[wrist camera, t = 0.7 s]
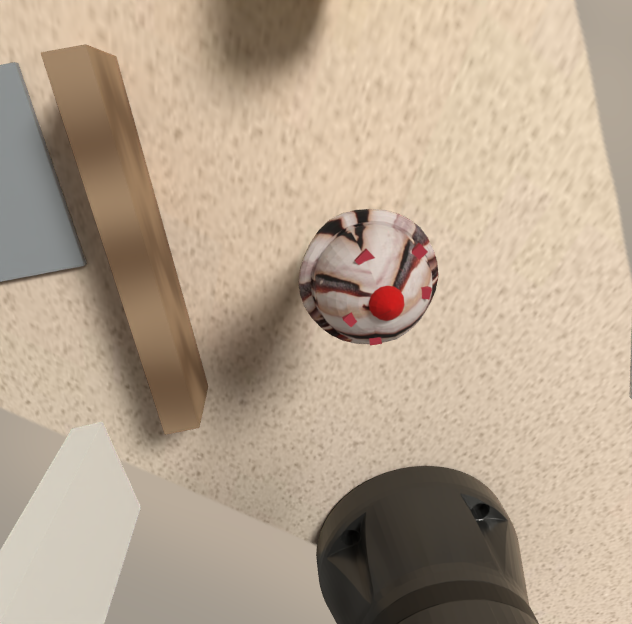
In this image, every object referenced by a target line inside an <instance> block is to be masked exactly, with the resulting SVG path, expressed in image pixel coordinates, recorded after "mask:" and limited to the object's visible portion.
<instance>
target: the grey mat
mask: <svg viewBox="0 0 632 624" xmlns="http://www.w3.org/2000/svg"><path fill="white" fill-rule="evenodd" d="M86 264H87V263H86V260H85V258H84V255H83V252H82V249H81V246H80V243H79V240H78V237H77V234H76V231H75V228H74V225H73V222H72V219H71V217H70V214H69V211H68V208H67V205H66V202H65V199H64V196H63V193H62V190H61V187H60V184H59V181H58V178H57V176H56V173H55V170H54V167H53V164H52V161H51V158H50V155H49V152H48V149H47V146H46V143H45V140H44V137H43V135H42V132H41V129H40V126H39V123H38V120H37V117H36V114H35V111H34V108H33V105H32V102H31V99H30V96H29V94H28V91H27V88H26V85H25V82H24V79H23V76H22V73H21V70H20V67H19V64H18V63H15V62H14V63H9V64H3V65H0V282H1V281H6V280H12V279H17V278H22V277H27V276H33V275H38V274H43V273H48V272H54V271H59V270H64V269H70V268H75V267H80V266H85V265H86Z"/></svg>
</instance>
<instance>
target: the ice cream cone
mask: <svg viewBox="0 0 632 624" xmlns="http://www.w3.org/2000/svg"><path fill="white" fill-rule="evenodd" d="M437 281H438V266H437V260H436V256H435V253H434V250H433V248H432V246H431V244H430V242H429V239H428V237H427V236H426V235H425V233H424V232H423V231H422V229H421V228H420V227H419V226H418V225H416V224H415V223H414V222H413V221H411V220H410V219H408V218H406V217H404V216H402V215H400V214H398V213H394V212H390V211H386V210H376V209H365V210H354V211H350V212H346V213H341V214H340V215H338V216H336V217H334V218H332V219H330V220H329V221H328V222H327V223H326V224H325V225H324V226H323V227H322V228H321V229H320V230H319V231H318V232H317V234H316V235H315V237H314V238H313V240H312V241H311V243H310V245H309V247H308V249H307V251H306V253H305V256H304V259H303V262H302V265H301V268H300V274H299V289H300V295H301V298H302V301H303V304H304V307H305V308H306V310H307V311H308V313H309V315H310V316H311V317H312V318H313V320H314V321H315V322H316V323H317V324H318V325H319V326H320V327H321V328H322V329H324V330H325V331H326V332H328V333H329V334H331V335H332V336H334V337H337V338H339V339H341V340H343V341H347V342H351V343H357V344H370V345H377V344H382V343H383V342H387V341H391V340H395V339H397V338H399V337H401V336H402V335H404V334H405V333H406V332H408V331H409V330H410V329H412V328H413V327H414V326H415V325H416V324H417V323H418V322H419V320H420V319H421V318H422V316H423V315H424V313H425V311H426V310H427V308H428V306H429V304H430V303H431V300H432V298H433V295H434V293H435V291H436V286H437Z"/></svg>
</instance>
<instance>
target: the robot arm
mask: <svg viewBox="0 0 632 624" xmlns="http://www.w3.org/2000/svg"><path fill="white" fill-rule="evenodd" d="M630 398H631V399H632V331H631V365H630ZM140 508H141V506H140V504H139V502H138V500H137V498H136V495H135V493H134V490H133V488H132V486H131V484H130V482H129V480H128V477H127V475H126V473H125V470H124V469H123V466H122V464H121V462H120V459H119V457H118V455H117V453H116V450H115V448H114V446H113V444H112V442H111V439H110V437H109V435H108V433H107V430H106V428H105V426H104V424H103V422H99V423H94V424H90V425H85V426H81V427H77V428H72V429H71V431H70V433H69V434H68V436H67V438H66V440H65V441H64V443H63V445H62V447H61V448H60V450H59V452H58V453H57V455H56V457H55V458H54V460H53V462H52V463H51V465H50V467H49V468H48V470H47V472H46V474H45V475H44V477H43V479H42V480H41V482H40V484H39V485H38V487H37V489H36V490H35V492H34V494H33V496H32V497H31V499H30V501H29V502H28V504H27V506H26V507H25V509H24V511H23V513H22V514H21V516H20V518H19V519H18V521H17V523H16V524H15V526H14V528H13V530H12V531H11V533H10V535H9V536H8V538H7V540H6V541H5V543H4V545H3V547H2V548H1V550H0V624H104V623H105V620H106V617H107V614H108V610H109V607H110V604H111V601H112V598H113V594H114V591H115V588H116V585H117V581H118V579H119V575H120V572H121V569H122V566H123V563H124V559H125V556H126V553H127V550H128V547H129V543H130V540H131V537H132V534H133V531H134V527H135V524H136V521H137V518H138V514H139V511H140ZM316 556H317V567H318V575H319V582H320V587H321V591H322V594H323V597H324V599H325V602H326V604H327V606H328V608H329V610H330V612H331V613H332V615H333V617H334V619H335V621H336V623H337V624H539V623H538V621H537V619H536V617H535V616H534V614H533V612H532V610H531V608H530V606H529V602H528V596H527V590H526V584H525V578H524V572H523V566H522V560H521V554H520V548H519V543H518V538H517V534H516V531H515V529H514V526H513V524H512V522H511V520H510V518H509V517H508V515H507V513H506V512H505V510H504V508H503V507H502V505H501V503H500V502H499V500H498V499H497V497H496V496H495V495H494V493H493V492H492V491H491V490H490V489H489V488H488V487H487V486H486V485H484V484H483V483H482V482H480V481H479V480H477V479H476V478H474V477H472V476H470V475H468V474H465V473H463V472H460V471H457V470H454V469H449V468H444V467H435V466H417V467H408V468H402V469H398V470H394V471H391V472H387V473H385V474H382V475H379V476H377V477H375V478H372V479H371V480H369V481H367V482H365V483H363V484H362V485H360V486H358V487H357V488H355V489H354V490H353V491H351V492H350V493H349V494H348V495H346V496H345V497H344V498H343V499H342V500H341V501H340V502H339V503H338V504H337V505H336V507H335V508H334V509H333V510H332V512H331V513H330V514H329V516H328V518H327V519H326V521H325V523H324V525H323V527H322V529H321V532H320V535H319V538H318V543H317V554H316Z"/></svg>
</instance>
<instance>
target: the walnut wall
mask: <svg viewBox="0 0 632 624" xmlns="http://www.w3.org/2000/svg"><path fill="white" fill-rule="evenodd" d="M41 56H42V59H43V62H44V65H45V68H46V71H47V74H48V77H49V80H50V83H51V86H52V89H53V93H54V96H55V99H56V102H57V105H58V108H59V111H60V114H61V117H62V120H63V123H64V126H65V129H66V132H67V136H68V139H69V142H70V145H71V148H72V151H73V154H74V157H75V160H76V163H77V166H78V169H79V172H80V175H81V179H82V182H83V185H84V188H85V191H86V194H87V197H88V200H89V203H90V206H91V209H92V212H93V215H94V219H95V222H96V225H97V228H98V231H99V234H100V237H101V240H102V243H103V246H104V249H105V252H106V255H107V258H108V262H109V265H110V268H111V271H112V274H113V277H114V280H115V283H116V286H117V289H118V292H119V295H120V298H121V301H122V305H123V308H124V311H125V314H126V317H127V320H128V323H129V326H130V329H131V332H132V335H133V338H134V341H135V344H136V348H137V351H138V354H139V357H140V360H141V363H142V366H143V369H144V372H145V375H146V378H147V381H148V384H149V388H150V391H151V394H152V397H153V400H154V403H155V406H156V409H157V412H158V415H159V418H160V421H161V424H162V427H163V431H164V434H165V435H166V434H171V433H176V432H181V431H186V430H191V429H196V428H199V427H200V422H201V418H202V413H203V408H204V404H205V399H206V394H207V390H208V384H207V380H206V377H205V373H204V369H203V366H202V362H201V359H200V355H199V351H198V348H197V344H196V341H195V337H194V334H193V330H192V326H191V323H190V319H189V316H188V312H187V309H186V305H185V301H184V298H183V294H182V291H181V287H180V283H179V280H178V276H177V273H176V269H175V266H174V262H173V258H172V255H171V251H170V248H169V244H168V241H167V237H166V233H165V230H164V226H163V223H162V219H161V215H160V212H159V208H158V205H157V201H156V198H155V194H154V190H153V187H152V183H151V180H150V176H149V173H148V169H147V165H146V162H145V158H144V155H143V151H142V147H141V144H140V140H139V137H138V133H137V130H136V126H135V122H134V119H133V115H132V112H131V108H130V105H129V101H128V97H127V94H126V90H125V87H124V83H123V80H122V76H121V72H120V69H119V65H118V62H117V58H116V56H114V55H111V54H109V53H106V52H104V51H101V50H99V49H96V48H94V47H91V46H88V45H80V46H75V47H69V48H64V49H58V50H52V51H47V52H41Z"/></svg>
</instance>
